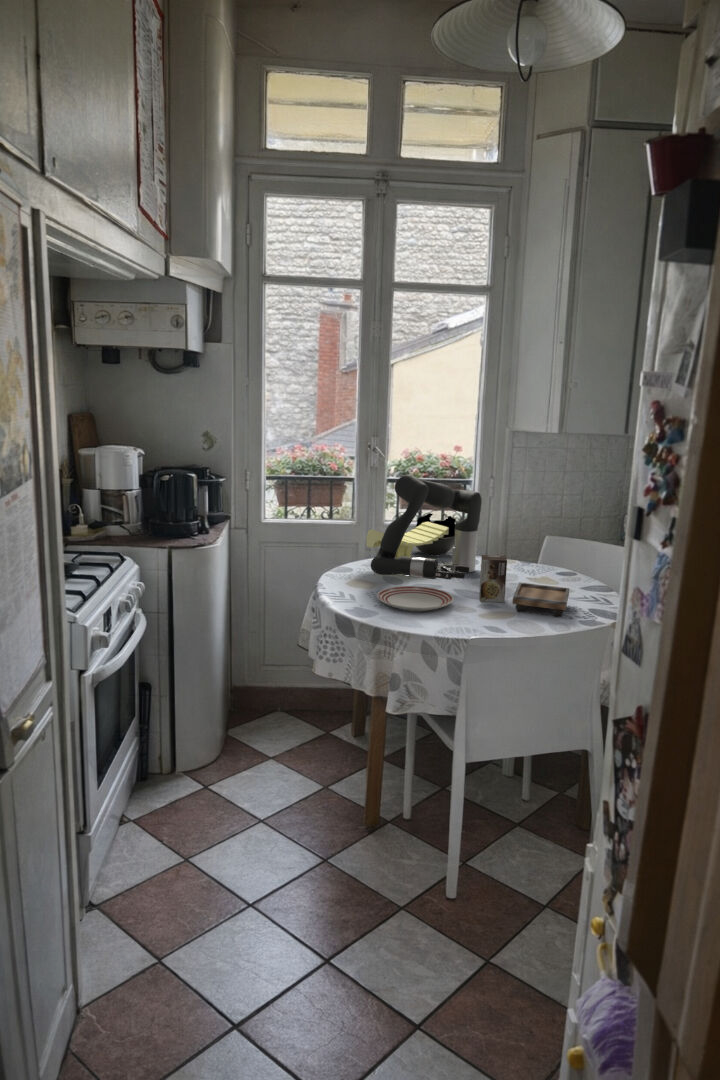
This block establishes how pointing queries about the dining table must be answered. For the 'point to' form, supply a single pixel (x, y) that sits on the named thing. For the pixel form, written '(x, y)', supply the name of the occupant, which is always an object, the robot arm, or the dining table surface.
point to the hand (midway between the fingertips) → (466, 572)
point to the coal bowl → (442, 543)
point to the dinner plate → (415, 598)
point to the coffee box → (493, 578)
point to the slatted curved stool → (411, 537)
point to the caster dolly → (541, 597)
